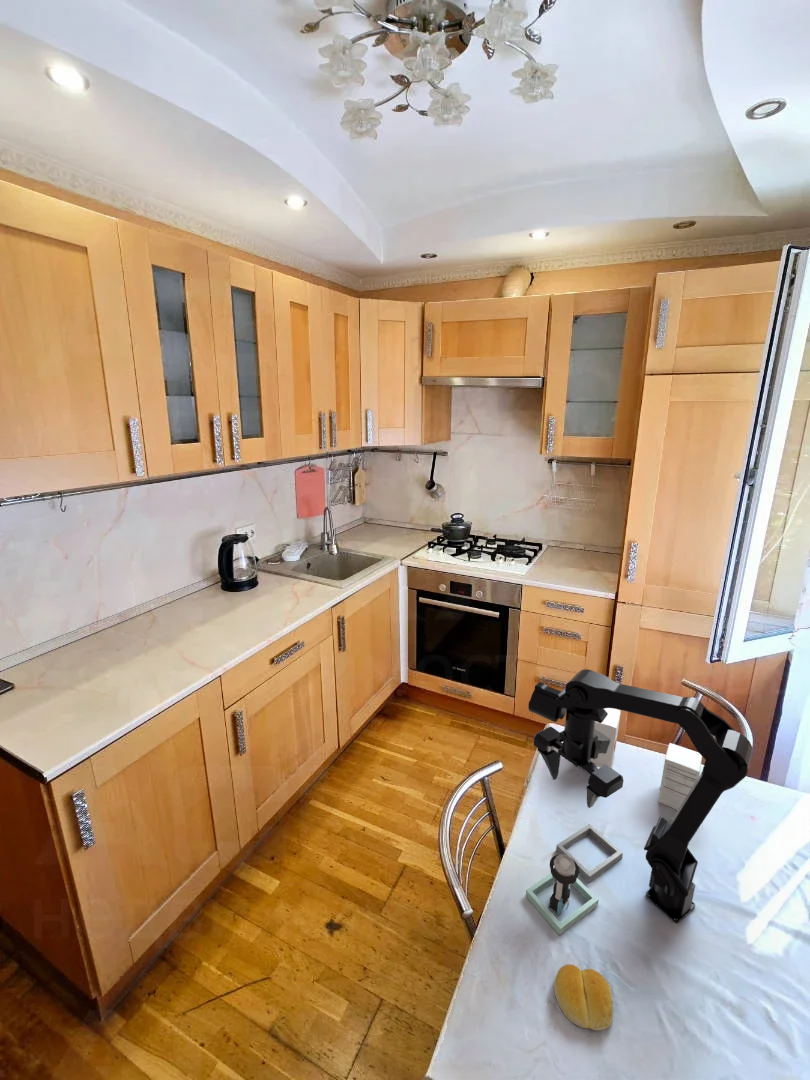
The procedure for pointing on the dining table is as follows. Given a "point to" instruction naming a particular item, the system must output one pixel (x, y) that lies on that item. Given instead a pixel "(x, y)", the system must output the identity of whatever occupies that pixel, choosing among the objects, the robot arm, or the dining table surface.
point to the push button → (562, 880)
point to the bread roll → (584, 997)
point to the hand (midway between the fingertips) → (571, 792)
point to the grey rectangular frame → (599, 837)
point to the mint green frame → (557, 925)
